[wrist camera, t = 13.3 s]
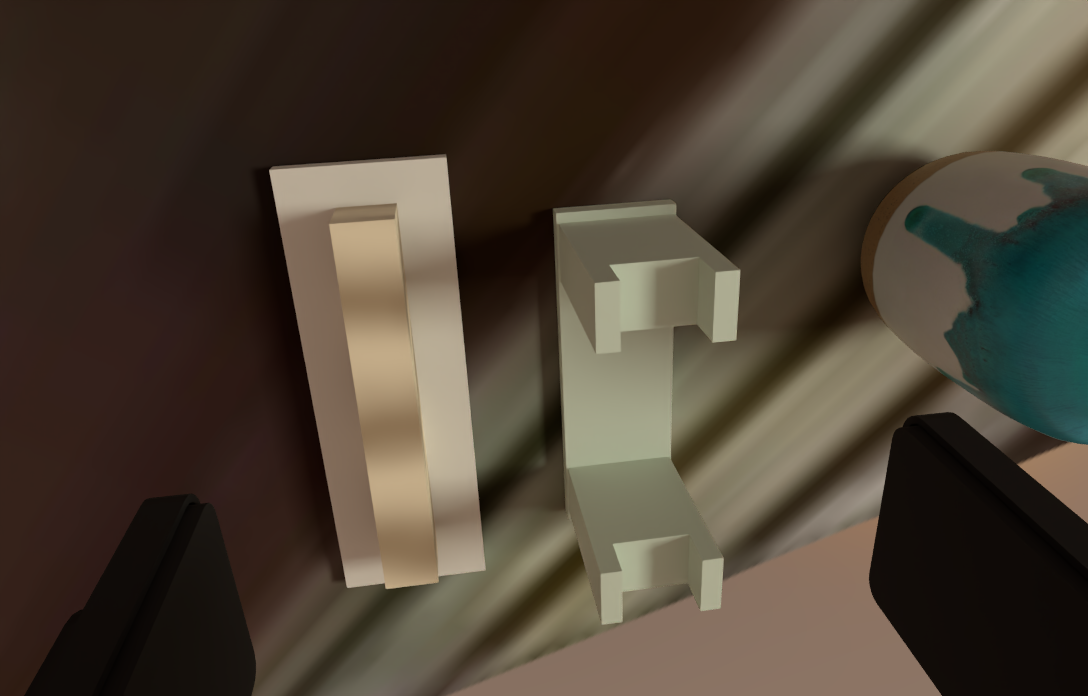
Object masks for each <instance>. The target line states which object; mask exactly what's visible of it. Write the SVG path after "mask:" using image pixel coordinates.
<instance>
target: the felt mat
mask: <svg viewBox="0 0 1088 696" xmlns="http://www.w3.org/2000/svg"><path fill="white" fill-rule="evenodd" d="M269 172H270V177H271V182H272V188H273V193H274V198H275V204H276V209H277V215H278V220H279V225H280V231H281V236H282V241H283V247H284V252H285V257H286V263H287V268H288V273H289V279H290V284H291V290H292V295H293V300H294V306H295V311H296V316H297V322H298V327H299V332H300V338H301V343H302V348H303V354H304V359H305V365H306V370H307V375H308V381H309V386H310V391H311V397H312V402H313V407H314V413H315V418H316V424H317V429H318V434H319V440H320V445H321V450H322V456H323V461H324V466H325V472H326V477H327V482H328V488H329V493H330V499H331V504H332V509H333V515H334V520H335V525H336V531H337V536H338V541H339V547H340V552H341V558H342V563H343V568H344V574H345V579H346V584H347V588H350V587H358V586H366V585H373V584H381V583H385V580H384V573H383V567H382V561H381V554H380V548H379V541H378V535H377V529H376V522H375V516H374V509H373V503H372V496H371V490H370V484H369V477H368V471H367V464H366V458H365V451H364V445H363V439H362V432H361V426H360V419H359V413H358V406H357V400H356V394H355V387H354V381H353V374H352V368H351V362H350V355H349V349H348V342H347V336H346V329H345V323H344V317H343V310H342V304H341V297H340V291H339V284H338V278H337V272H336V265H335V259H334V252H333V246H332V239H331V233H330V227H329V223H330V221H331V219H332V216H333V214H334V212H335V209H336V208H339V207H353V206H366V205H380V204H394V203H397V210H398V218H399V226H400V235H401V243H402V252H403V260H404V269H405V277H406V285H407V294H408V302H409V311H410V319H411V328H412V336H413V344H414V353H415V361H416V370H417V378H418V387H419V395H420V403H421V412H422V420H423V429H424V437H425V445H426V454H427V462H428V471H429V479H430V488H431V496H432V504H433V513H434V521H435V530H436V538H437V547H438V576H444V575H452V574H459V573H467V572H475V571H483V570H485V559H484V549H483V538H482V528H481V517H480V507H479V496H478V486H477V475H476V465H475V454H474V444H473V433H472V423H471V412H470V402H469V391H468V381H467V370H466V359H465V349H464V338H463V328H462V317H461V307H460V296H459V286H458V275H457V265H456V254H455V244H454V233H453V223H452V212H451V202H450V191H449V181H448V170H447V159H446V154H444V155H430V156H415V157H401V158H387V159H373V160H359V161H345V162H331V163H317V164H303V165H288V166H274V167H271V169H270V170H269Z"/></svg>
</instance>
